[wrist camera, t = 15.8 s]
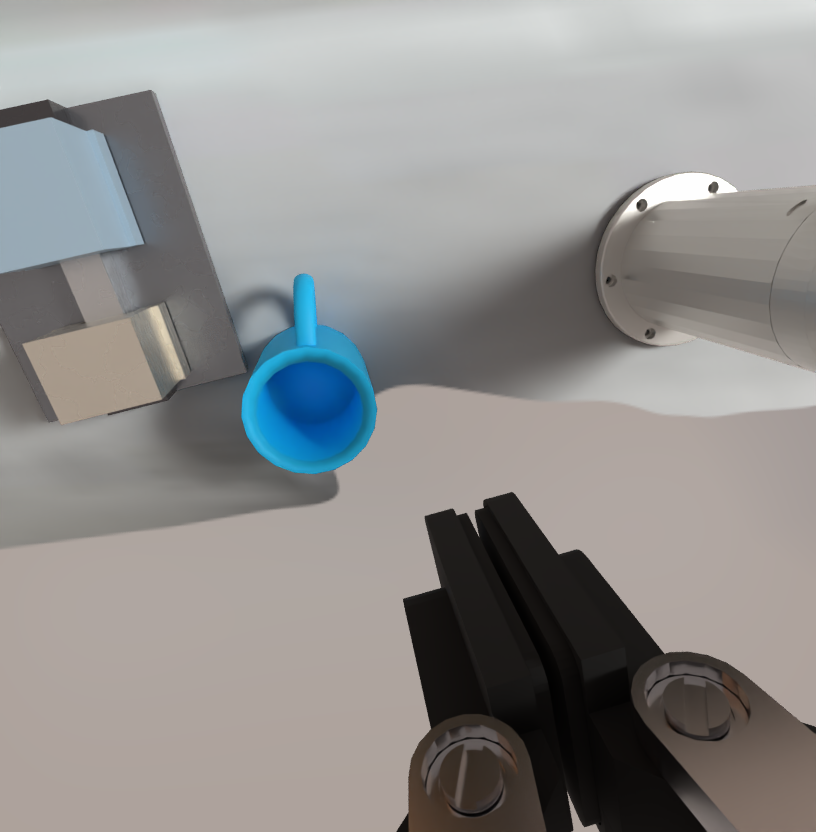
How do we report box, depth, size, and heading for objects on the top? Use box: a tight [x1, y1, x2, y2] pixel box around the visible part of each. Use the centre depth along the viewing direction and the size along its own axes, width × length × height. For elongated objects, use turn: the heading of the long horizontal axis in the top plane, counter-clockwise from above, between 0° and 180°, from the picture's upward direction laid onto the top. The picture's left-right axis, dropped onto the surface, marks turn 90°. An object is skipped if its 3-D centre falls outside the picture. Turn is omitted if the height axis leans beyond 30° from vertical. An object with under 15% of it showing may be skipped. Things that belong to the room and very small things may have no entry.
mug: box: [241, 274, 377, 474], centre depth 37 cm, size 12×8×8 cm
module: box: [0, 117, 144, 274], centre depth 31 cm, size 7×6×6 cm
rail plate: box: [0, 90, 248, 425], centre depth 33 cm, size 14×18×7 cm
